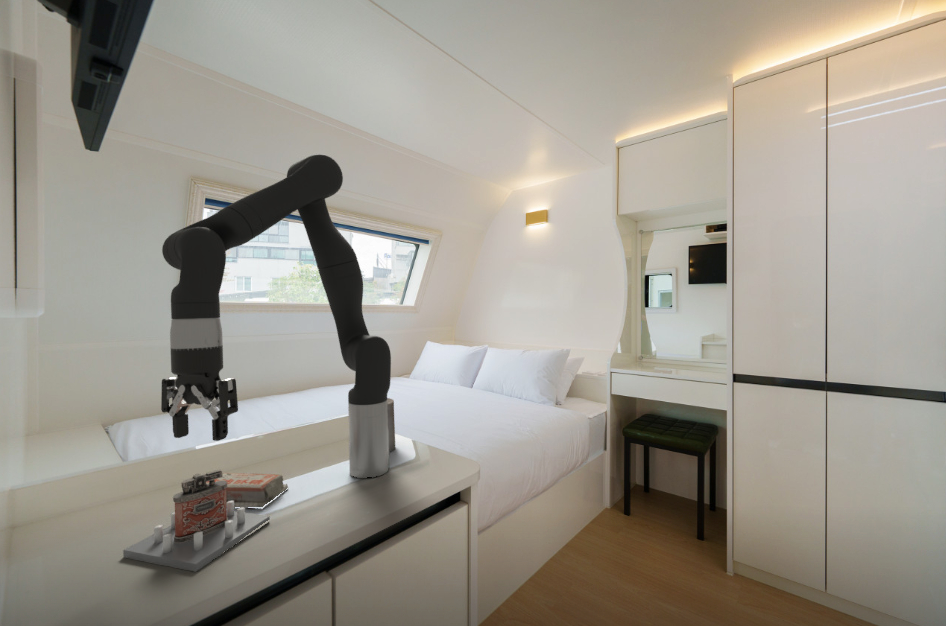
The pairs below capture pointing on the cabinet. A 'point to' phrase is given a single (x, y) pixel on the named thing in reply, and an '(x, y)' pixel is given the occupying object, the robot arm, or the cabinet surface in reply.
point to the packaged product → (252, 488)
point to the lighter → (200, 506)
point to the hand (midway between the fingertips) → (200, 438)
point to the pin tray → (194, 542)
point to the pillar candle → (391, 423)
